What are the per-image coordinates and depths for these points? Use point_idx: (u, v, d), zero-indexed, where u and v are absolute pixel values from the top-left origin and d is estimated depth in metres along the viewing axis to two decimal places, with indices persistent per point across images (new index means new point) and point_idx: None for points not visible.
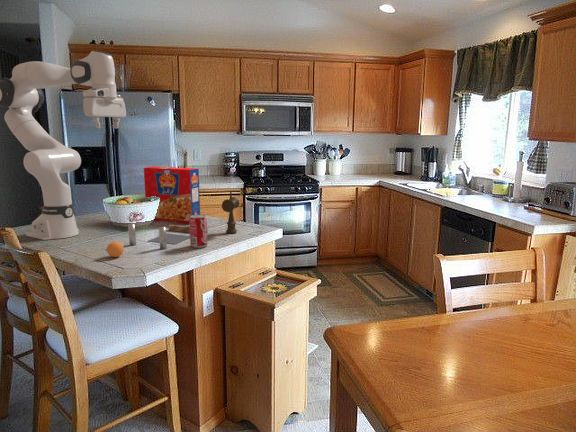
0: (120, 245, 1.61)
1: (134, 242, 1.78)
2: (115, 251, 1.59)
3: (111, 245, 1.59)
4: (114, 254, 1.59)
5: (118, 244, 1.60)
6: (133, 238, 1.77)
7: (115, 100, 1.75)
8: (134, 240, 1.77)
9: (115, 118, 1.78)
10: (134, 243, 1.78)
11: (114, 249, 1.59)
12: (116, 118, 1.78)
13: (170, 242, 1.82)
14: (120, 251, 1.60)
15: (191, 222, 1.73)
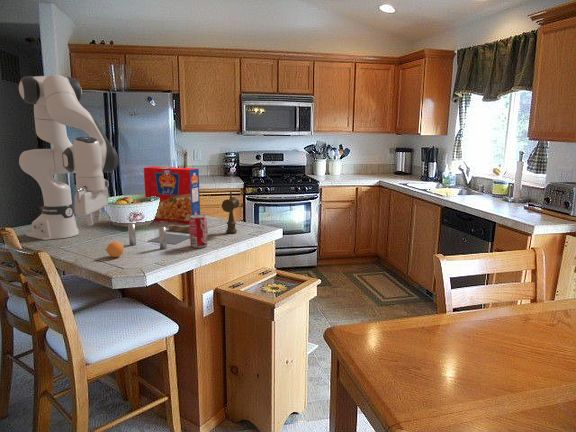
0: (120, 245, 1.61)
1: (134, 242, 1.78)
2: (115, 251, 1.59)
3: (111, 245, 1.59)
4: (114, 254, 1.59)
5: (118, 244, 1.60)
6: (133, 238, 1.77)
7: None
8: (134, 240, 1.77)
9: None
10: (134, 243, 1.78)
11: (114, 249, 1.59)
12: None
13: (170, 242, 1.82)
14: (120, 251, 1.60)
15: (191, 222, 1.73)
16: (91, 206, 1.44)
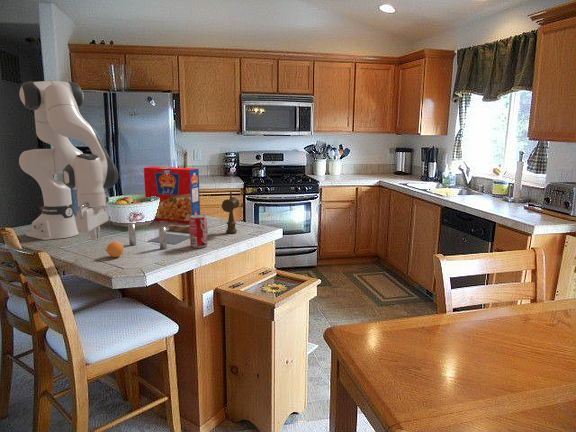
0: (120, 245, 1.61)
1: (134, 242, 1.78)
2: (115, 251, 1.59)
3: (111, 245, 1.59)
4: (114, 254, 1.59)
5: (118, 244, 1.60)
6: (133, 238, 1.77)
7: None
8: (134, 240, 1.77)
9: None
10: (134, 243, 1.78)
11: (114, 249, 1.59)
12: None
13: (170, 242, 1.82)
14: (120, 251, 1.60)
15: (191, 222, 1.73)
16: (92, 222, 1.45)
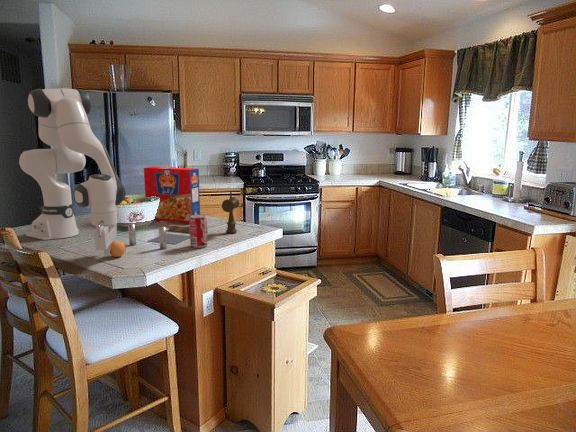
0: (122, 245, 1.62)
1: (134, 242, 1.78)
2: (116, 249, 1.59)
3: (114, 243, 1.60)
4: (115, 253, 1.60)
5: (121, 244, 1.61)
6: (133, 238, 1.77)
7: None
8: (134, 240, 1.77)
9: None
10: (134, 243, 1.78)
11: (116, 248, 1.59)
12: None
13: (170, 242, 1.82)
14: (121, 251, 1.61)
15: (191, 222, 1.73)
16: (108, 240, 1.52)
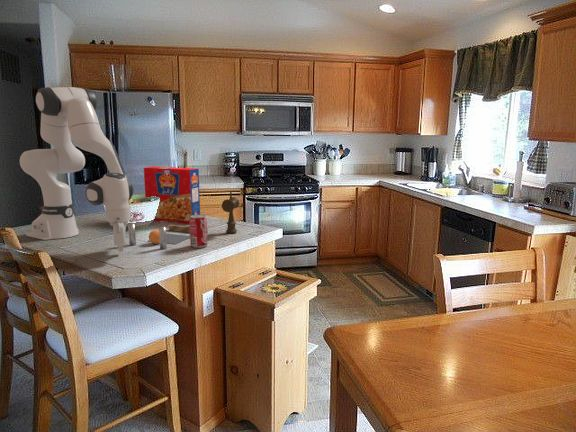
0: None
1: (134, 242, 1.78)
2: (156, 237, 1.78)
3: (153, 232, 1.78)
4: (155, 240, 1.78)
5: None
6: (133, 238, 1.77)
7: (113, 224, 1.58)
8: (134, 240, 1.77)
9: None
10: (134, 243, 1.78)
11: (156, 236, 1.78)
12: None
13: (170, 242, 1.82)
14: None
15: (191, 222, 1.73)
16: (124, 235, 1.59)
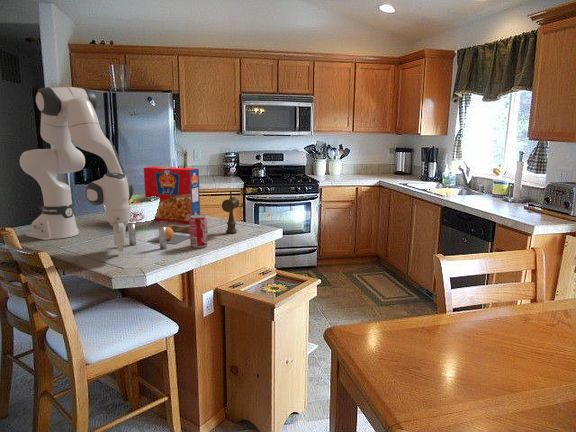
0: None
1: (134, 242, 1.78)
2: (172, 230, 1.86)
3: None
4: (169, 228, 1.85)
5: (172, 236, 1.87)
6: (133, 238, 1.77)
7: (113, 224, 1.58)
8: (134, 240, 1.77)
9: None
10: (134, 243, 1.78)
11: (172, 230, 1.86)
12: None
13: (170, 242, 1.82)
14: (171, 233, 1.84)
15: (191, 222, 1.73)
16: (124, 235, 1.59)
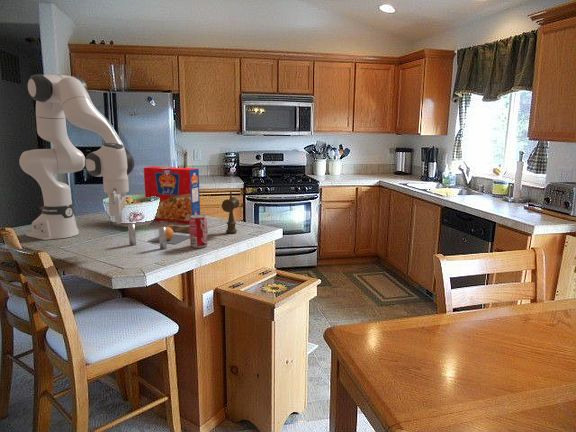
0: None
1: (134, 242, 1.78)
2: (172, 230, 1.86)
3: None
4: (169, 228, 1.85)
5: (172, 236, 1.87)
6: (133, 238, 1.77)
7: None
8: (134, 240, 1.77)
9: None
10: (134, 243, 1.78)
11: (172, 230, 1.86)
12: None
13: (170, 242, 1.82)
14: (171, 233, 1.84)
15: (191, 222, 1.73)
16: (121, 207, 1.57)
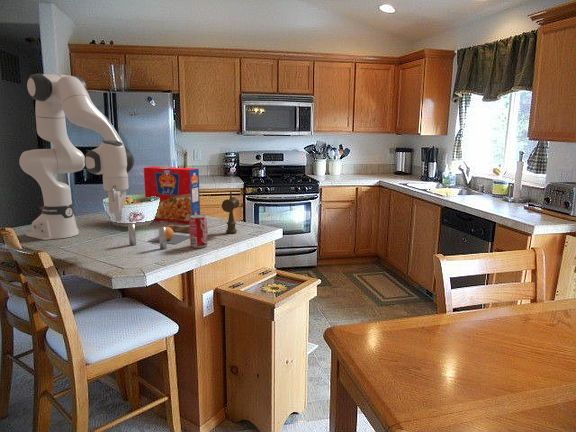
0: None
1: (134, 242, 1.78)
2: (172, 230, 1.86)
3: None
4: (169, 228, 1.85)
5: (172, 236, 1.87)
6: (133, 238, 1.77)
7: None
8: (134, 240, 1.77)
9: None
10: (134, 243, 1.78)
11: (172, 230, 1.86)
12: None
13: (170, 242, 1.82)
14: (171, 233, 1.84)
15: (191, 222, 1.73)
16: (120, 204, 1.56)
